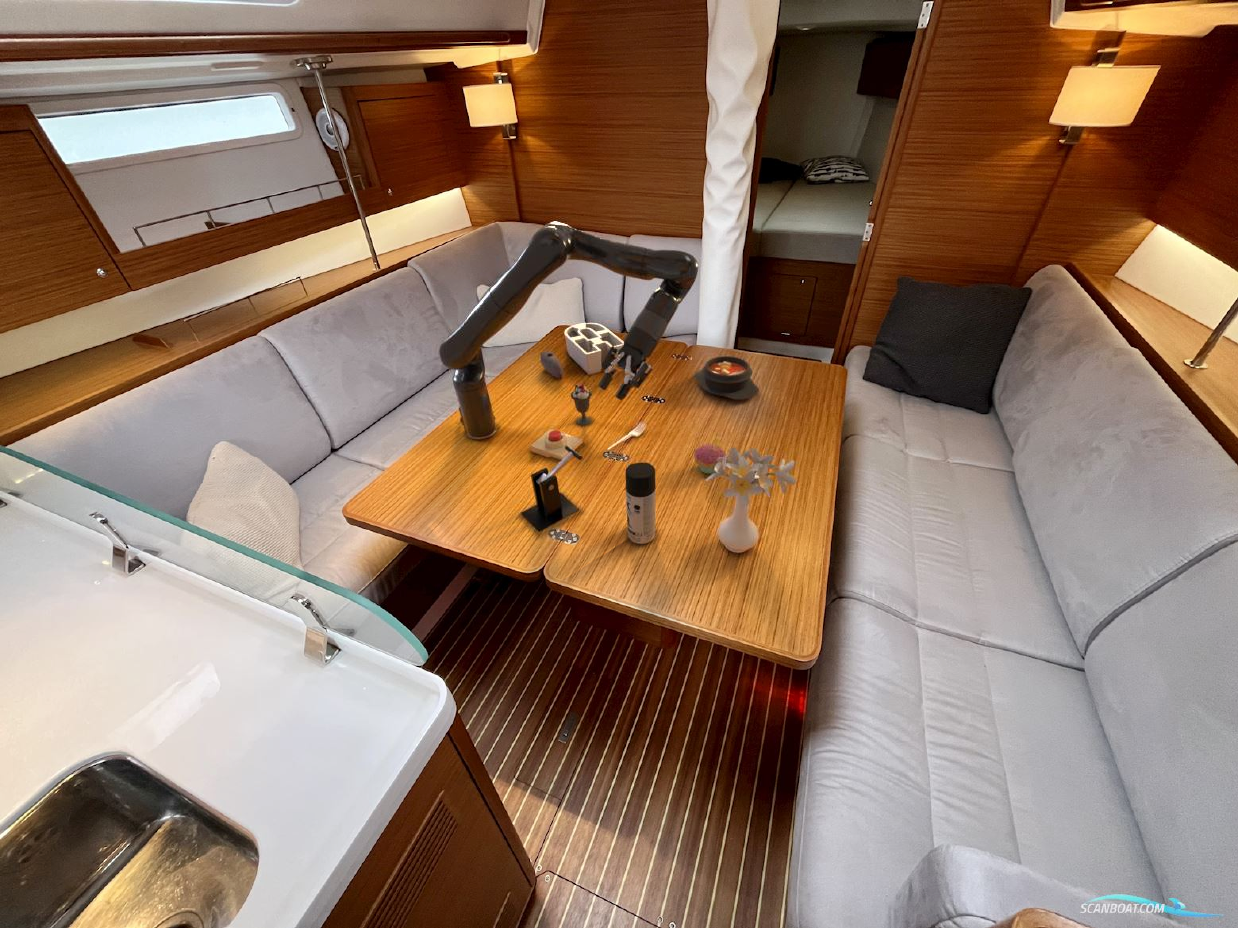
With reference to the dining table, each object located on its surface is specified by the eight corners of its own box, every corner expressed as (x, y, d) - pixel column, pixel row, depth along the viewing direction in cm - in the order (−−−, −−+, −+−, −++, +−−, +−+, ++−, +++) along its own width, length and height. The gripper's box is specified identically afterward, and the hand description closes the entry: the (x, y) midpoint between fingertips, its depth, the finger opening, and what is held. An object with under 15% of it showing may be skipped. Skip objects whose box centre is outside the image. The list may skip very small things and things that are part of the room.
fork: (595, 455, 146) (595, 450, 145) (640, 425, 157) (640, 420, 156) (603, 459, 144) (603, 454, 143) (648, 429, 156) (648, 424, 154)
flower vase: (788, 550, 114) (808, 465, 98) (715, 572, 110) (724, 486, 95) (758, 513, 124) (773, 430, 108) (690, 532, 120) (695, 449, 104)
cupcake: (726, 462, 141) (730, 427, 133) (721, 480, 134) (724, 445, 127) (696, 457, 143) (698, 422, 136) (690, 475, 137) (691, 440, 129)
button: (547, 440, 147) (546, 435, 146) (554, 433, 150) (553, 429, 149) (556, 443, 146) (556, 438, 145) (564, 437, 148) (563, 432, 147)
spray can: (626, 526, 123) (623, 462, 110) (653, 523, 123) (653, 459, 111) (629, 546, 117) (625, 481, 105) (657, 543, 118) (657, 478, 105)
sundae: (591, 428, 158) (587, 386, 149) (571, 426, 159) (566, 385, 150) (596, 416, 163) (593, 375, 154) (577, 415, 164) (572, 374, 155)
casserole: (771, 393, 169) (774, 371, 164) (730, 411, 162) (732, 388, 157) (721, 366, 186) (723, 346, 181) (682, 381, 179) (682, 360, 174)
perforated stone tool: (568, 380, 184) (566, 363, 179) (555, 384, 182) (552, 366, 178) (553, 364, 194) (551, 348, 190) (540, 368, 192) (538, 351, 188)
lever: (570, 448, 125) (566, 442, 123) (584, 459, 121) (580, 453, 119) (536, 482, 123) (531, 477, 121) (549, 494, 119) (544, 489, 117)
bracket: (560, 495, 133) (554, 457, 125) (579, 512, 127) (574, 474, 119) (521, 516, 127) (512, 477, 119) (539, 535, 122) (531, 496, 114)
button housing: (531, 451, 149) (529, 440, 147) (551, 434, 156) (549, 424, 153) (563, 463, 144) (561, 451, 142) (582, 445, 151) (581, 434, 148)
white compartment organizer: (588, 375, 186) (586, 354, 180) (561, 348, 206) (558, 328, 200) (627, 365, 191) (626, 344, 186) (597, 339, 211) (595, 319, 206)
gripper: (618, 317, 121) (582, 377, 122) (657, 334, 111) (619, 399, 113) (635, 331, 126) (601, 388, 128) (674, 349, 117) (637, 410, 119)
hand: (610, 393), depth 121 cm, fingers open, 6 cm apart
